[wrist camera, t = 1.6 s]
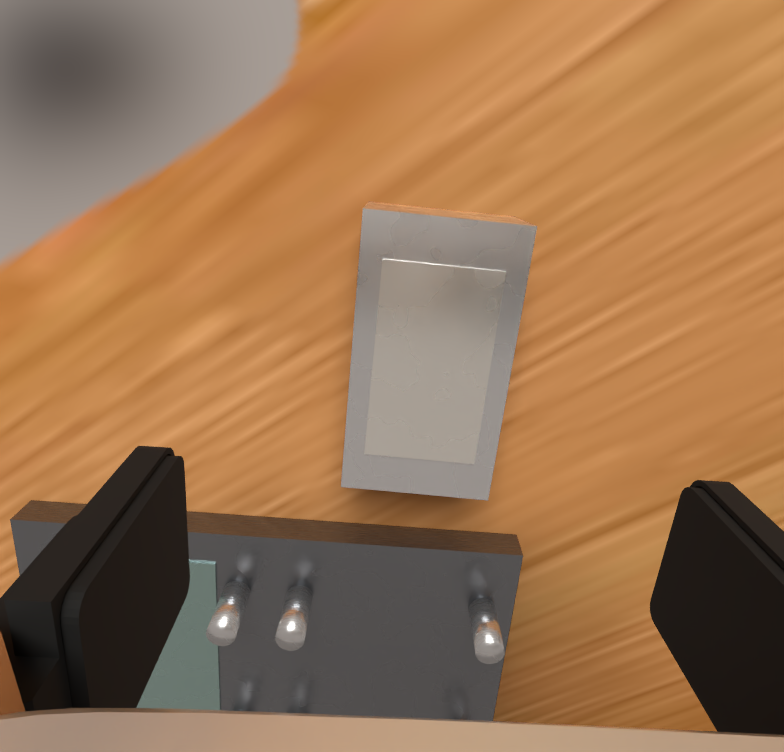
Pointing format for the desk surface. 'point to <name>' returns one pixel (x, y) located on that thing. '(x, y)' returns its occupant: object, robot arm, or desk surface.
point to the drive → (433, 348)
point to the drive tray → (327, 616)
